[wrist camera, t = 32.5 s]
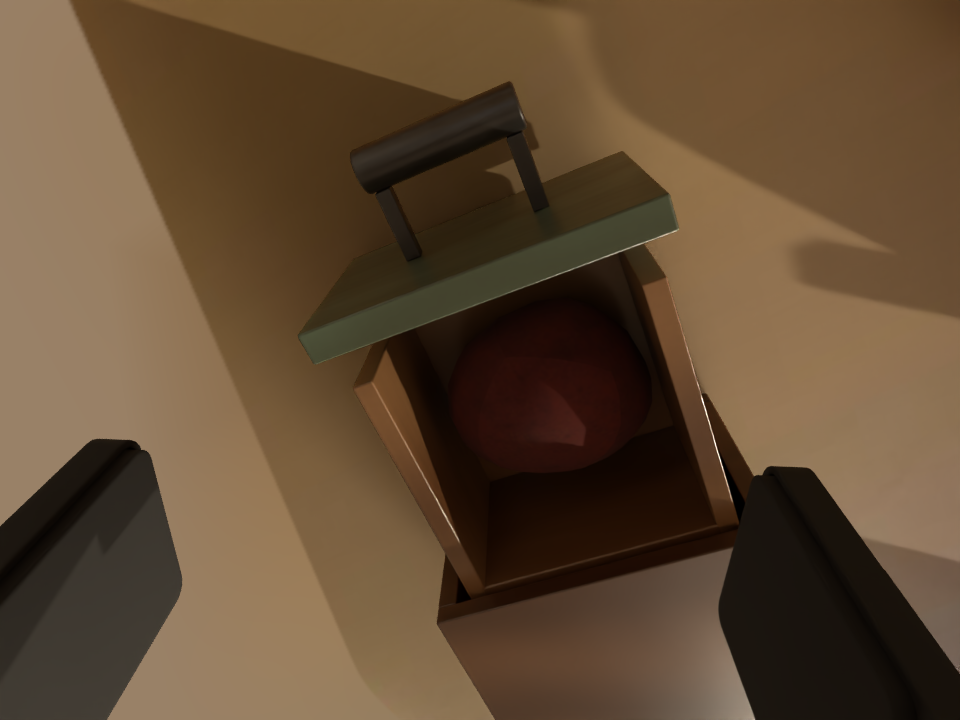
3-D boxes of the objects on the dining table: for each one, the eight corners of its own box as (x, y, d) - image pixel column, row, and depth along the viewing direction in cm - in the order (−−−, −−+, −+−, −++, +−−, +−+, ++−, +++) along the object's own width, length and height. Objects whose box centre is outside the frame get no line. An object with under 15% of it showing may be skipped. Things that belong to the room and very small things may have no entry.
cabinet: (455, 470, 34) (435, 624, 25) (706, 392, 31) (786, 532, 22) (546, 646, 40) (557, 822, 31) (764, 593, 37) (847, 770, 28)
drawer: (305, 166, 26) (224, 213, 19) (589, 39, 24) (626, 36, 16) (469, 487, 33) (458, 614, 26) (702, 416, 31) (764, 534, 23)
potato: (471, 259, 27) (461, 313, 21) (660, 296, 27) (698, 358, 22) (443, 406, 30) (428, 485, 24) (612, 437, 30) (635, 521, 25)
